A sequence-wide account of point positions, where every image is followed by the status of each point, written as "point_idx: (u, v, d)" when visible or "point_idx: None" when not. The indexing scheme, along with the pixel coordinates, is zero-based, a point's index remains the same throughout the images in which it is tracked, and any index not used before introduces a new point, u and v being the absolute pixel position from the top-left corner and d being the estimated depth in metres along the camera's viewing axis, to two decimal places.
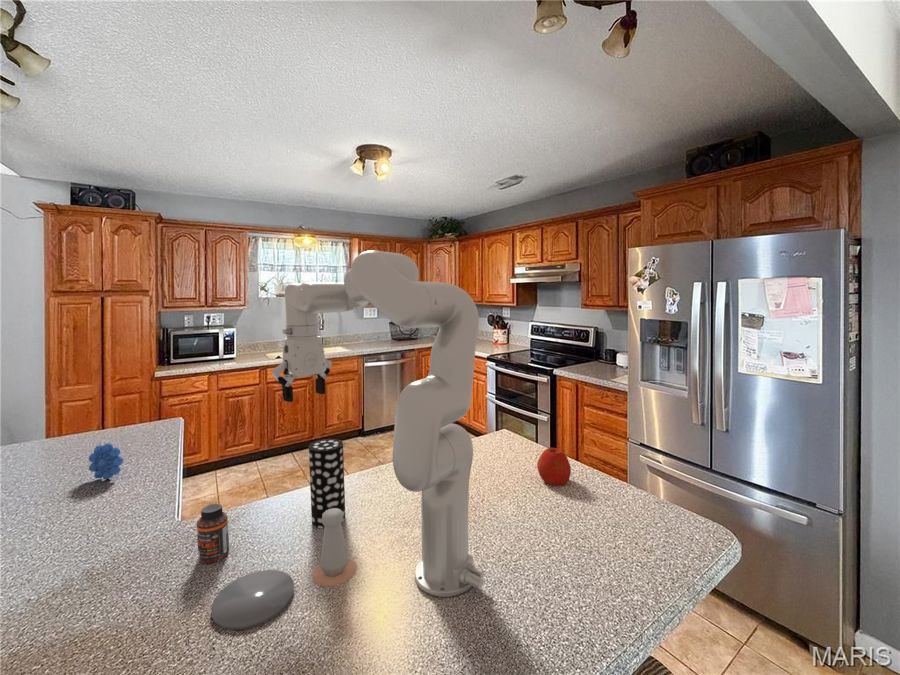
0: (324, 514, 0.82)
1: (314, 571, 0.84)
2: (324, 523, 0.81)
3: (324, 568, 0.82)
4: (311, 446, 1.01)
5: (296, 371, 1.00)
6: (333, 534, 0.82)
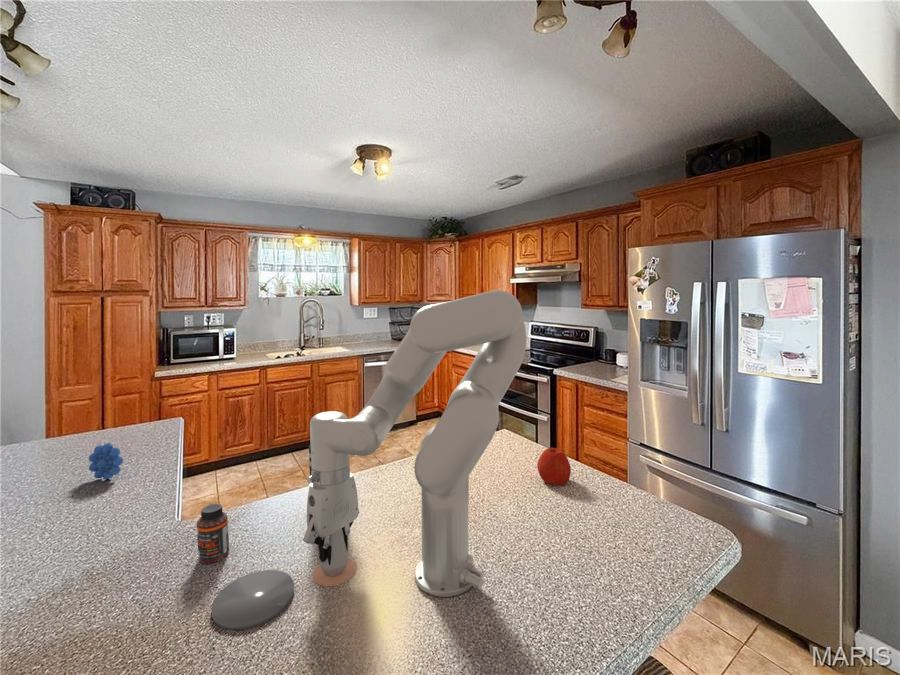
0: None
1: (314, 571, 0.84)
2: None
3: (324, 568, 0.82)
4: None
5: (325, 530, 0.78)
6: (333, 534, 0.82)
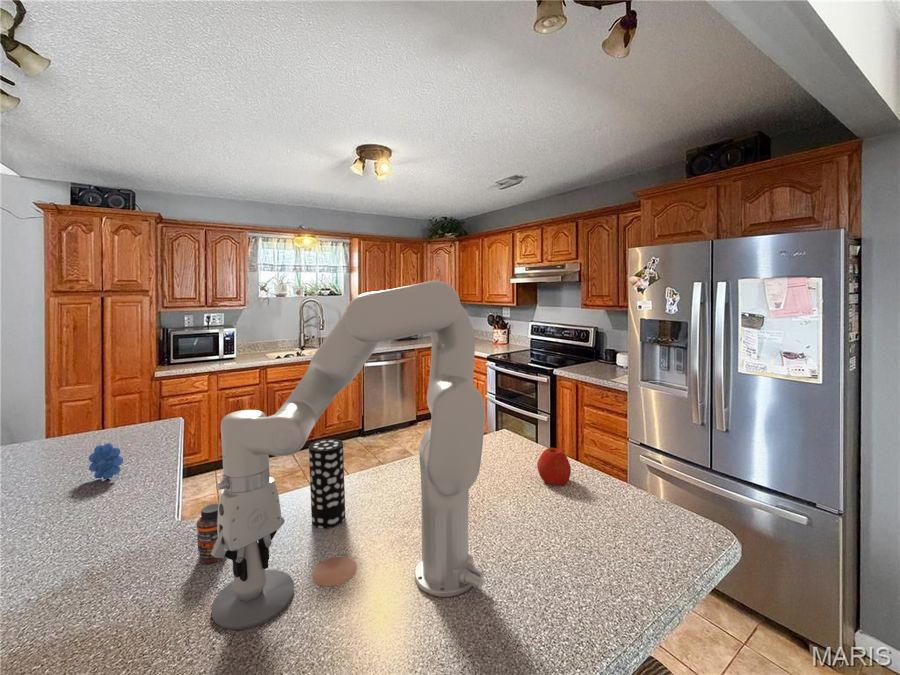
0: None
1: (314, 571, 0.84)
2: None
3: (236, 592, 0.74)
4: (311, 446, 1.01)
5: (235, 542, 0.70)
6: (247, 554, 0.74)
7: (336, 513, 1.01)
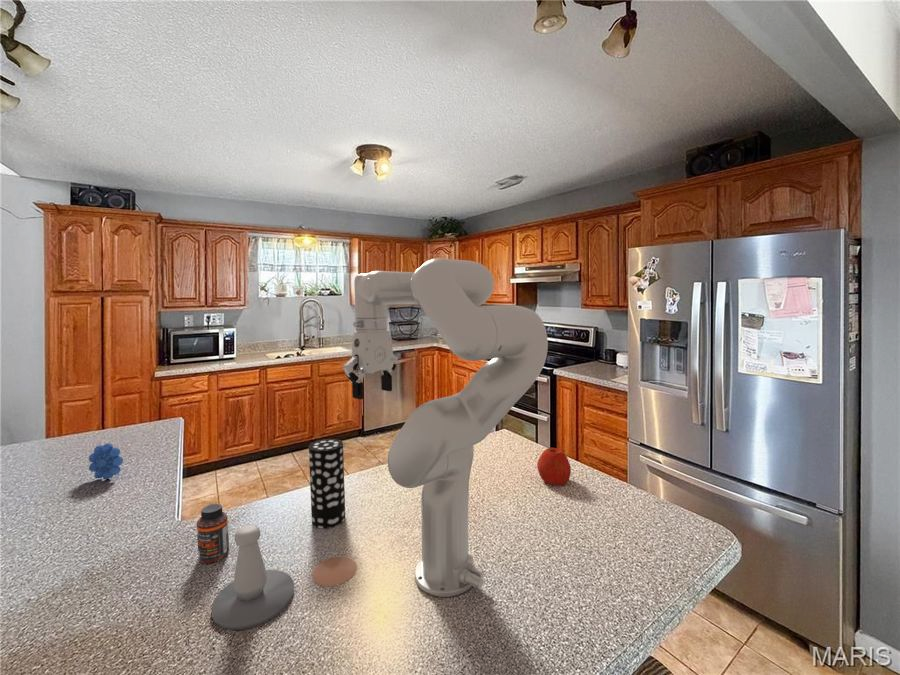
0: (237, 532, 0.75)
1: (314, 571, 0.84)
2: (236, 542, 0.74)
3: (236, 591, 0.74)
4: (311, 446, 1.01)
5: (368, 366, 0.94)
6: (247, 554, 0.74)
7: (336, 513, 1.01)
